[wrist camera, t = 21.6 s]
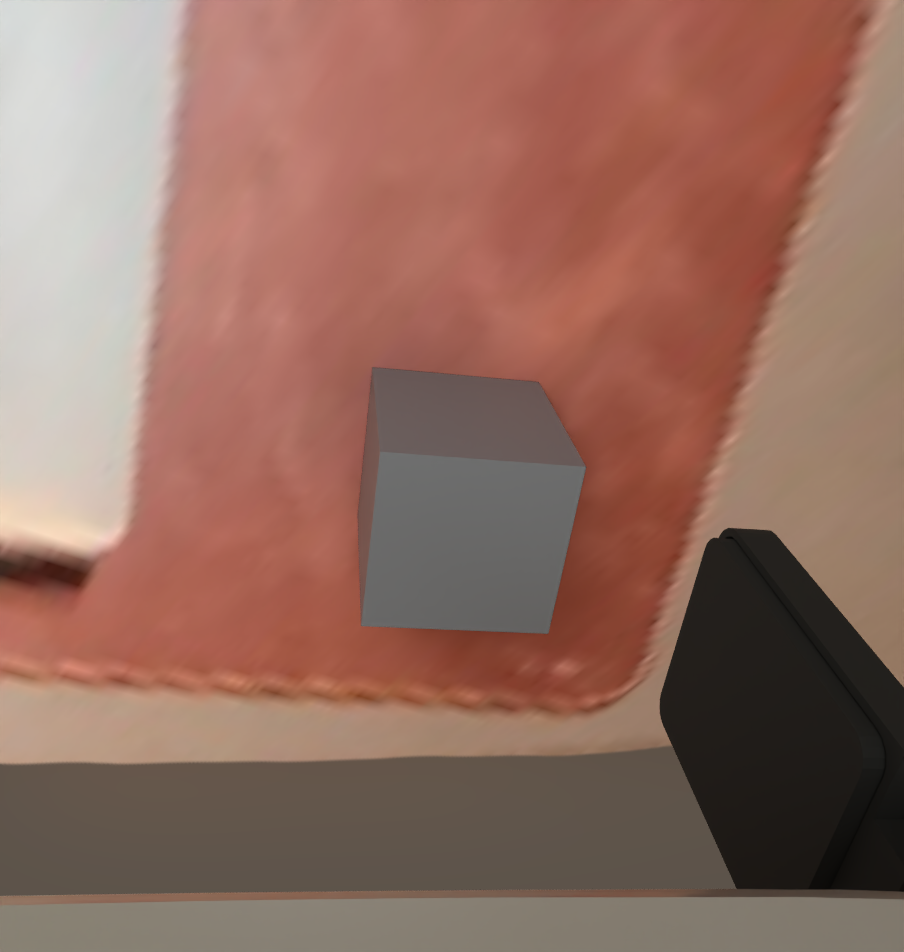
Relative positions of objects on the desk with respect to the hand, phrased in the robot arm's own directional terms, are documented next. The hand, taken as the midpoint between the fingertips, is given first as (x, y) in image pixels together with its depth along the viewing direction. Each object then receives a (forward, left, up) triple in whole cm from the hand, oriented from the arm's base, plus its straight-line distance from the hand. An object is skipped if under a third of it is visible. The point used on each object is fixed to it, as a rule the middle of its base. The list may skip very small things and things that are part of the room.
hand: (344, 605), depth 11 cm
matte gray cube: (+11, +6, -28) cm, 30 cm away
